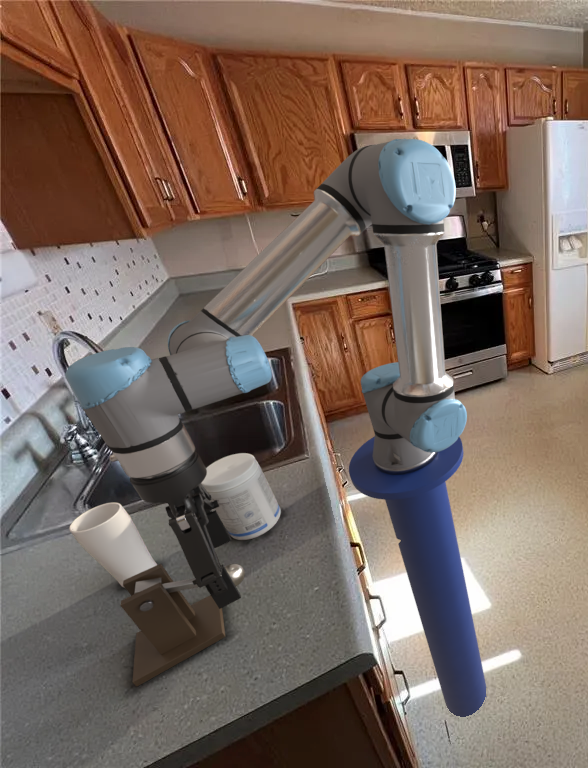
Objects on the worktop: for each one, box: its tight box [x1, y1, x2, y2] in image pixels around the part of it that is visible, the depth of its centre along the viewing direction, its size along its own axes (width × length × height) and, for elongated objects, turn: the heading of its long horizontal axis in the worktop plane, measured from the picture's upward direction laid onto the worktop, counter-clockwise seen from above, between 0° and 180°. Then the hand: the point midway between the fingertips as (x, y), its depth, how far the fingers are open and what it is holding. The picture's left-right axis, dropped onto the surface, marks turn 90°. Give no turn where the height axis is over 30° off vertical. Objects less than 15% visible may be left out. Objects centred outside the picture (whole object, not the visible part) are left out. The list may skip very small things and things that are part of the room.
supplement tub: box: [201, 452, 282, 541], centre depth 81 cm, size 10×10×15 cm
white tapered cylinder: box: [68, 501, 158, 589], centre depth 72 cm, size 7×7×15 cm
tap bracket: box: [119, 563, 226, 688], centre depth 61 cm, size 11×9×13 cm
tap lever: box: [134, 563, 246, 594], centre depth 62 cm, size 13×4×4 cm, turn 127°
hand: (225, 570), depth 65 cm, fingers open, 13 cm apart
